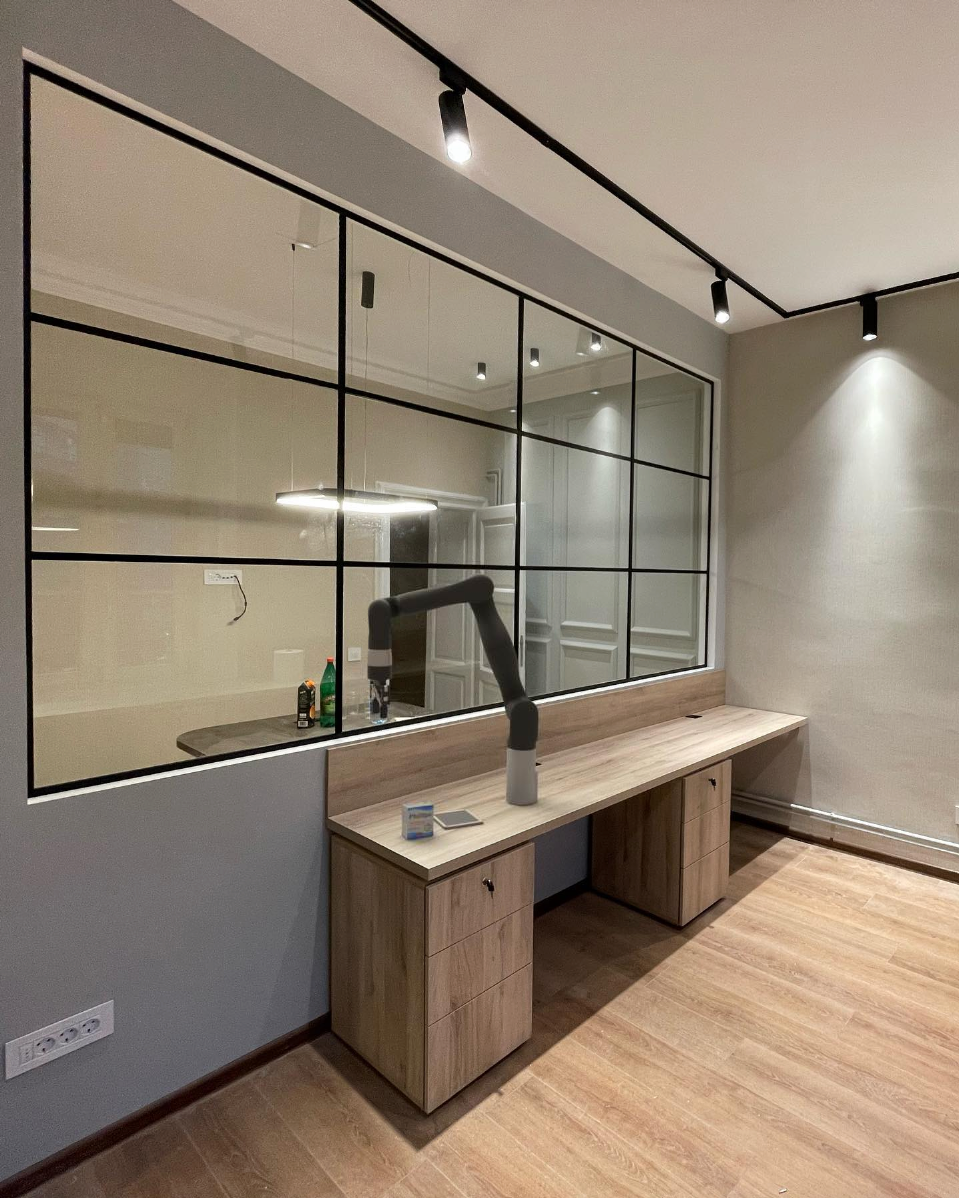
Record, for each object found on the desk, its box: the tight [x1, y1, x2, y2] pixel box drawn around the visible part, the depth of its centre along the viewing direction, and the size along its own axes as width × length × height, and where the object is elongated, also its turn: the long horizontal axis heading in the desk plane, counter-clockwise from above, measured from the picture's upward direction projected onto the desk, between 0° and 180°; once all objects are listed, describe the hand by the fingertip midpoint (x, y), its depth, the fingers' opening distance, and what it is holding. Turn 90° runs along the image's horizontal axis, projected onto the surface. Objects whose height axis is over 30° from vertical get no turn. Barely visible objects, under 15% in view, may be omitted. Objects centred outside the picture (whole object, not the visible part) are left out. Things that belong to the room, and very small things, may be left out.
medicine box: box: [401, 800, 435, 841], centre depth 188 cm, size 8×4×9 cm, turn 115°
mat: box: [434, 808, 484, 831], centre depth 200 cm, size 12×12×1 cm
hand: (379, 715), depth 211 cm, fingers open, 8 cm apart
